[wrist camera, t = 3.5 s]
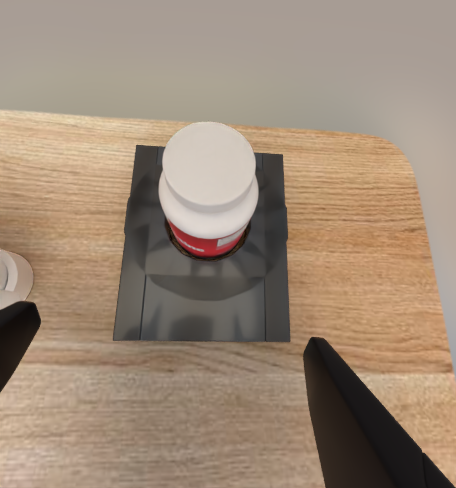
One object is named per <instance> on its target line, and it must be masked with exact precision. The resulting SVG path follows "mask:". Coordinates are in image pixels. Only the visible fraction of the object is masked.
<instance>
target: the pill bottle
mask: <svg viewBox="0 0 456 488" xmlns="http://www.w3.org/2000/svg"><path fill="white" fill-rule="evenodd" d="M162 163H163V171H162V174H161V177H160V181H159V199H160V202H161V206H162V209H163V211H164V213H165V215H166V218H167V220H168V222H169V224H170V227H171V229H172V231H173V233H174V236H175V238H176V240H177V241H178V243H179V245H180V246H181V247H182V248H183V249H184V250H185V251H186V252H187V253H189V254H190V255H192V256H194V257H197V258H200V259H216V258H219V257H222V256H224V255H226V254H228V253H229V252H230V251H231V250H232V249H233V248H234V247H235V246H236V245H237V243H238V242H239V240H240V238H241V236H242V234H243V232H244V230H245V228H246V226H247V224H248V222H249V221H250V219H251V217H252V215H253V213H254V211H255V208H256V205H257V201H258V183H257V179H256V176H255V169H256V161H255V156H254V152H253V149H252V147H251V145H250V144H249V142H248V141H247V139H246V138H245V137H244V136H243V135H242V134H241V133H239V132H238V131H237V130H235V129H233V128H231V127H229V126H227V125H225V124H222V123H218V122H209V121H204V122H197V123H193V124H190V125H187V126H185V127H183V128H181V129H180V130H179V131H177V132H176V133H175V134H174V135H173V136H172V137H171V139H170V140H169V141H168V143H167V145H166V147H165V150H164V153H163V159H162Z"/></svg>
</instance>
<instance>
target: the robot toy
mask: <svg viewBox="0 0 456 488" xmlns="http://www.w3.org/2000/svg"><path fill="white" fill-rule="evenodd" d="M33 278H34V275H33V271H32V267H31V266H30V264H29V262H28V261H27V260H26V259H25V258H24V257H22V256H20V255H18V254H16V253H13V252H9V251H6V250H2V249H0V310H1V309H3V308H5V307H7V306H9V305H11V304H13V303H15V302H18V301H25V300H26V298H27V296H28V295H29V293H30V291H31V288H32V286H33Z"/></svg>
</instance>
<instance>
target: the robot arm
mask: <svg viewBox="0 0 456 488" xmlns="http://www.w3.org/2000/svg"><path fill="white" fill-rule="evenodd" d="M40 324H41V319H40V316H39V313H38V310H37V307H36V304H35V303H34V302H28V301H18V302H15V303H13V304H11V305H9V306H7V307H5V308H3V309H1V310H0V392H1V391H2V389H3V388H4V387H5V385H6V384H7V382H8V381H9V379H10V378H11V376H12V375H13V373H14V371H15V370H16V368H17V366H18V365H19V363H20V361H21V359H22V357H23V356H24V354H25V352H26V350H27V349H28V347H29V345H30V343H31V341H32V340H33V338H34V336H35V334H36V333H37V331H38V329H39V327H40ZM303 361H304V370H305V379H306V388H307V398H308V405H309V411H310V416H311V421H312V426H313V430H314V435H315V440H316V444H317V449H318V454H319V459H320V463H321V468H322V473H323V477H324V482H325V487H326V488H455V487H454V485H453V484H452V483H451V482H450V481H449V480H448V479H447V478H446V477H445V475H444V474H443V473H442V472H441V471H440V470H439V469H438V468H437V466H436V465H435V464H434V463H433V462H432V461H431V460H430V458H429V457H428V456H427V455H426V454H425V453H423V452H422V450H421V448H420V447H419V446H418V445H417V444H416V443H415V441H414V440H413V439H412V438H411V437H410V436H409V435H408V433H407V432H406V431H405V430H404V429H403V428H402V427H401V425H400V424H399V423H398V422H397V421H396V420H395V419H394V417H393V416H392V415H391V414H390V413H389V412H388V411H387V409H386V408H385V407H384V406H383V405H382V404H381V403H380V401H379V400H378V399H377V398H376V397H375V396H374V395H373V393H372V392H371V391H370V390H369V389H368V388H367V387H366V385H365V384H364V383H363V382H362V381H361V380H360V378H359V377H358V376H357V375H356V374H355V373H354V372H353V370H352V369H351V368H350V367H349V366H348V365H347V364H346V362H345V361H344V360H343V359H342V358H341V357H340V356H339V354H338V353H337V352H336V351H335V350H334V349H333V348H332V346H331V345H330V344H329V343H328V342H327V341H326V340H325V339H324V338H320V337H311V338H310V340H309V342H308V344H307V346H306V348H305V351H304V354H303Z"/></svg>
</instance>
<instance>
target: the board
mask: <svg viewBox="0 0 456 488" xmlns="http://www.w3.org/2000/svg"><path fill="white" fill-rule="evenodd" d="M164 150H165V147H161V146H159V147H158V146H145V145H136V152H135V160H134V169H133V177H132V185H131V193H130V197H129V199H128V203H127V211H126V219H125V227H124V233H125V243H124V251H123V260H122V268H121V276H120V284H119V293H118V301H117V309H116V318H115V326H114V334H113V341H215V342H265V341H266V342H290V320H289V295H288V270H287V245H286V242H287V239H288V226H287V208H286V205H285V195H284V171H283V154H268V153H254V156H255V161H256V169H255V176H256V179H257V183H258V201H257V205H256V208H255V211H254V213H253V215H252V217H251V219H250V221H249V222H248V224H247V226H246V238H245V240H244V243H243V245H242V246H241V247H240V248H239V249H238V250H237V251H236V252H235V253H234V254H233V255H231V256H228V257H226V258H223V259H220V260H218V261H198V260H196V259H193V258H191V257H189V256H187V255H184V254H182V253H181V252H180V251H179V250H178V249H177V247H176V246H175V245H174V244H173V243H172V240H171V238H170V235H169V227H170V224H169V222H168V220H167V218H166V215H165V213H164V211H163V209H162V206H161V202H160V199H159V181H160V177H161V174H162V171H163V163H162V159H163V153H164Z"/></svg>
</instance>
